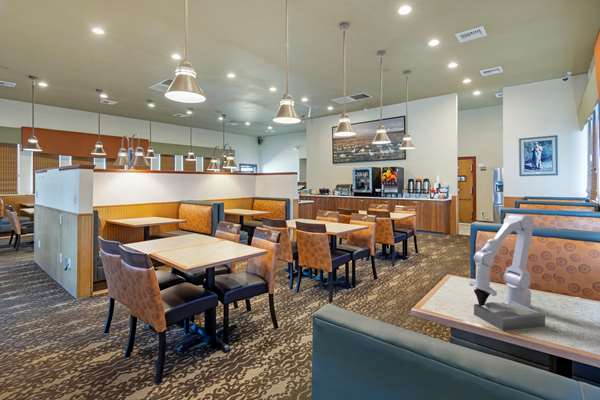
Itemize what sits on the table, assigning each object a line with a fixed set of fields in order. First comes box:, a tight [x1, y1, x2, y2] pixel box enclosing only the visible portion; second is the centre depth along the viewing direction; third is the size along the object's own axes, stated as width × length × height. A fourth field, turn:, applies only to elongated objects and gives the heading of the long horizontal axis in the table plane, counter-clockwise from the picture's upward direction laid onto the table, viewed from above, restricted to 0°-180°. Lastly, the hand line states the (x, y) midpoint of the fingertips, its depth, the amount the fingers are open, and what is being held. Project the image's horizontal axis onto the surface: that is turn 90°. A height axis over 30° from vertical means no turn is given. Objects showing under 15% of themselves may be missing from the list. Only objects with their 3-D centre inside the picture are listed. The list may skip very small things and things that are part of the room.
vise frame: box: [473, 303, 546, 331], centre depth 132 cm, size 20×16×4 cm
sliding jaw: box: [508, 301, 540, 316], centre depth 135 cm, size 2×13×4 cm, turn 11°
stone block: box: [484, 301, 518, 317], centre depth 139 cm, size 12×5×10 cm
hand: (481, 305), depth 145 cm, fingers closed
